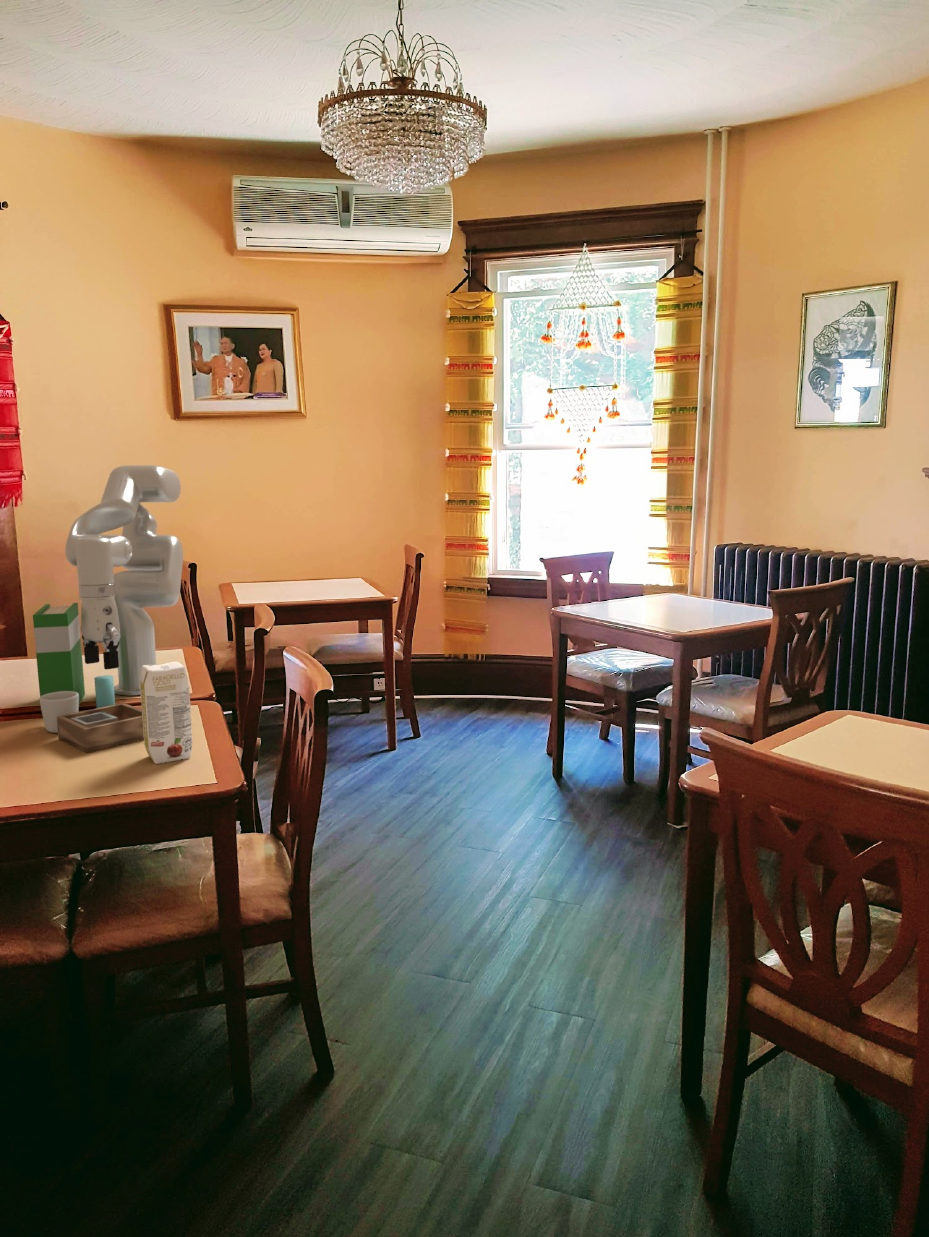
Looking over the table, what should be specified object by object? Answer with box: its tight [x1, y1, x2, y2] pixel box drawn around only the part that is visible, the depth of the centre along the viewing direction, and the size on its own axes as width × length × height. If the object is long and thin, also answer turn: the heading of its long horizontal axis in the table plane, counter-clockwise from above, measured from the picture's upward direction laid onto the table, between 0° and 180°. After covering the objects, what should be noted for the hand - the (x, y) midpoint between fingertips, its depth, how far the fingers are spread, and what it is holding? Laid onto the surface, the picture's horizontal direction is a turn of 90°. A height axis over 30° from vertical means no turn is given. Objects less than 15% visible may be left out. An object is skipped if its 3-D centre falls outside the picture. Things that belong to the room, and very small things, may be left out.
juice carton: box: [140, 661, 193, 765], centre depth 174 cm, size 8×9×19 cm
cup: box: [38, 691, 80, 734], centre depth 194 cm, size 11×8×8 cm
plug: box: [93, 674, 116, 708], centre depth 201 cm, size 4×4×10 cm
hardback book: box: [32, 602, 86, 714], centre depth 213 cm, size 18×7×24 cm, turn 16°
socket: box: [71, 712, 118, 727], centre depth 186 cm, size 7×7×4 cm
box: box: [57, 702, 144, 754], centre depth 188 cm, size 15×14×5 cm
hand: (101, 665), depth 199 cm, fingers open, 9 cm apart
